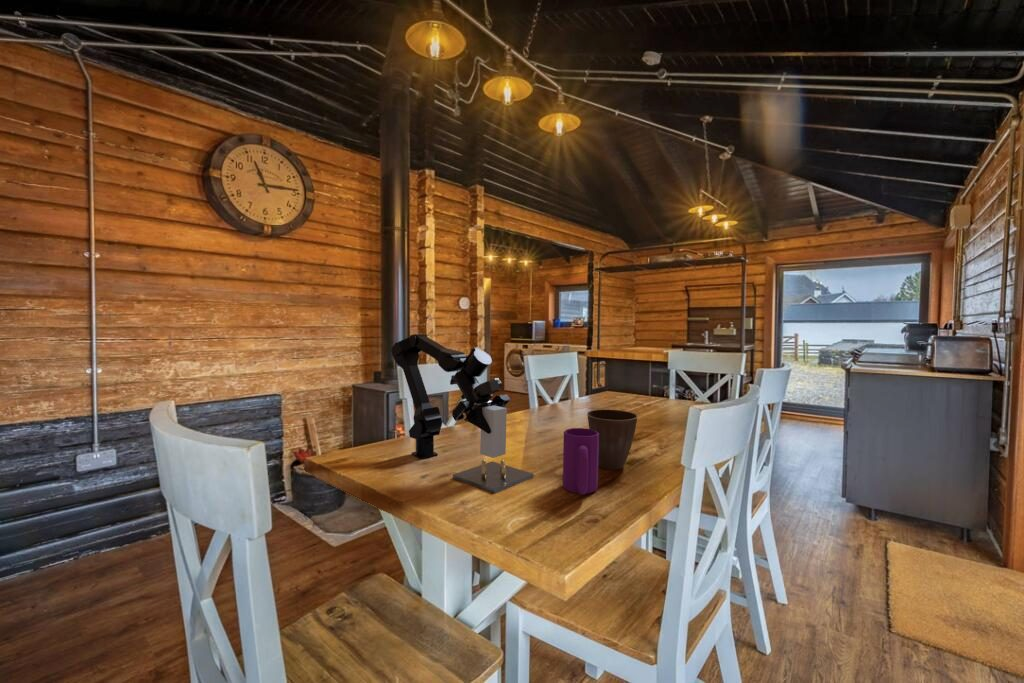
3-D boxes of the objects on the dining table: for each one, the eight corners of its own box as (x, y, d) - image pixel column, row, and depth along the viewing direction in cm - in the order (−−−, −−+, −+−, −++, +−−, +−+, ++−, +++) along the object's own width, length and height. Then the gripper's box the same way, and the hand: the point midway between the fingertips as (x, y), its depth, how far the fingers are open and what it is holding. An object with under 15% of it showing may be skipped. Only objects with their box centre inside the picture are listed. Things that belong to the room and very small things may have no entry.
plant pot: (634, 477, 124) (635, 421, 123) (582, 470, 129) (583, 417, 128) (637, 461, 138) (639, 411, 137) (590, 456, 143) (591, 408, 142)
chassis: (452, 478, 121) (452, 463, 121) (492, 464, 133) (492, 450, 133) (494, 493, 111) (494, 477, 110) (533, 477, 123) (533, 462, 123)
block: (480, 453, 121) (481, 407, 121) (492, 450, 125) (494, 405, 124) (492, 458, 118) (494, 410, 117) (505, 454, 122) (506, 408, 121)
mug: (595, 482, 119) (596, 428, 119) (603, 506, 104) (604, 444, 103) (562, 481, 120) (563, 427, 119) (564, 504, 105) (565, 442, 104)
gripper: (459, 371, 116) (488, 419, 109) (506, 367, 130) (534, 409, 123) (440, 397, 121) (466, 444, 115) (487, 390, 136) (513, 431, 129)
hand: (497, 431), depth 120 cm, fingers closed on block, 5 cm apart
